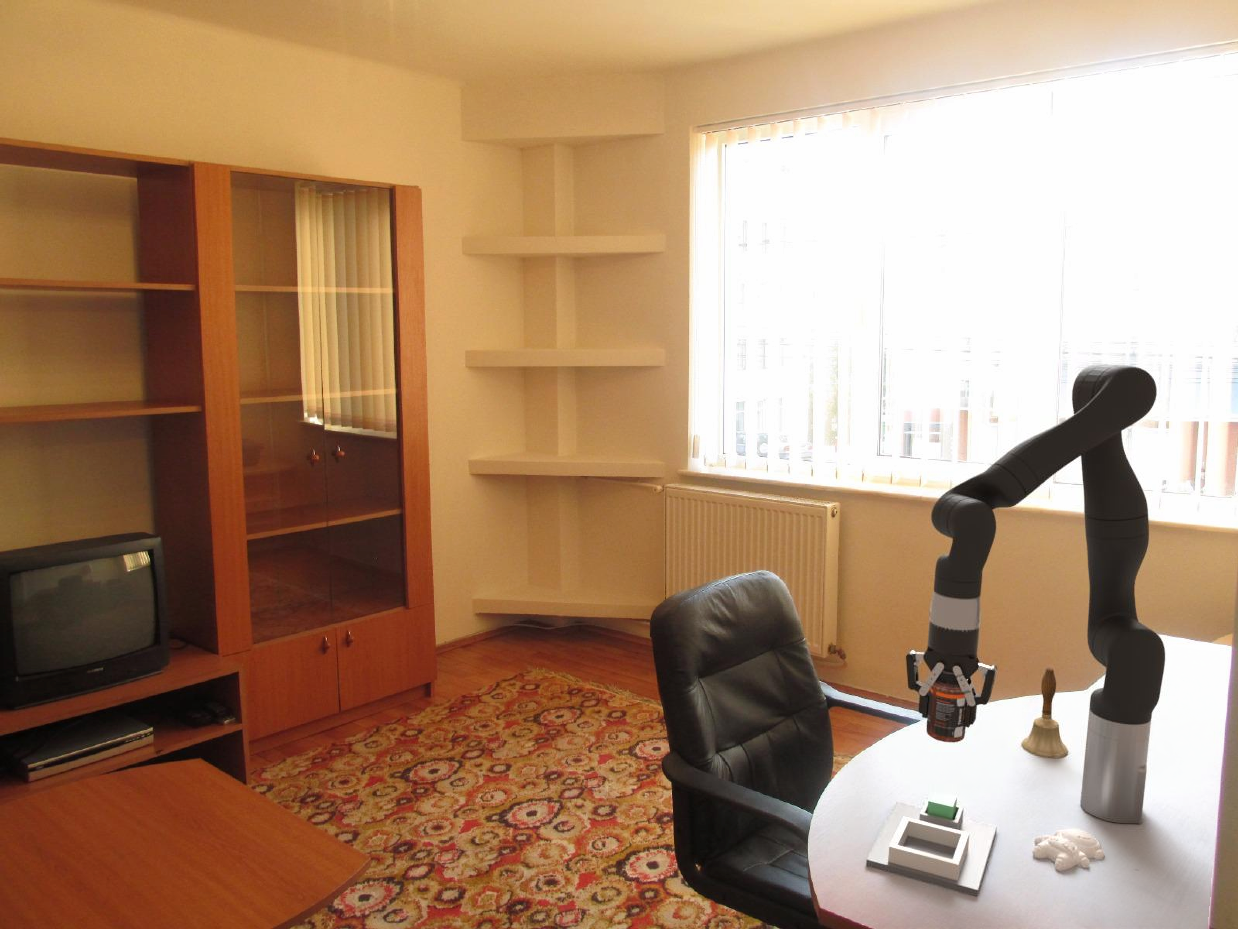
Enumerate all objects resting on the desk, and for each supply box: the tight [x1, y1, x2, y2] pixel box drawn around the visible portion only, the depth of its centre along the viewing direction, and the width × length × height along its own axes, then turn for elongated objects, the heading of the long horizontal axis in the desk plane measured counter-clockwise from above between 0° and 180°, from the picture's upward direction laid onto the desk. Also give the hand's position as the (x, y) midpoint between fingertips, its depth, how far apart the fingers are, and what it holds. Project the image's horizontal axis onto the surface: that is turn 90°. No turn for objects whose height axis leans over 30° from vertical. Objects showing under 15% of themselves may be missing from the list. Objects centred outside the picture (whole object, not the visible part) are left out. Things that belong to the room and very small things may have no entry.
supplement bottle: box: [926, 670, 967, 743], centre depth 157 cm, size 6×6×11 cm
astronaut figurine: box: [1032, 828, 1105, 871], centre depth 152 cm, size 9×12×3 cm
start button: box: [927, 790, 958, 820], centre depth 158 cm, size 4×4×3 cm
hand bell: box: [1020, 667, 1069, 759], centre depth 187 cm, size 8×8×16 cm
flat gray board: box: [865, 797, 998, 897], centre depth 153 cm, size 16×20×4 cm
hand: (946, 720), depth 157 cm, fingers closed on supplement bottle, 6 cm apart
